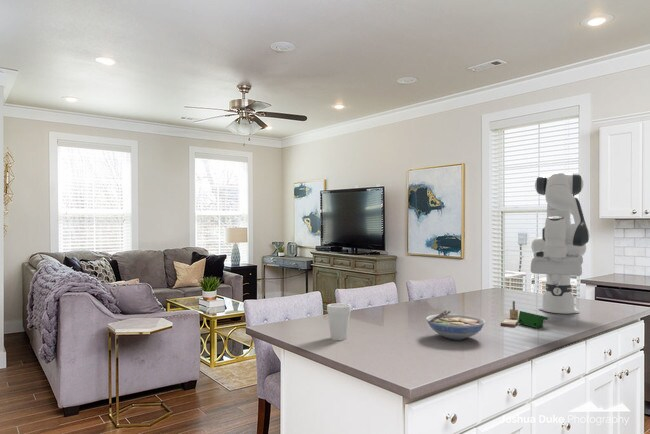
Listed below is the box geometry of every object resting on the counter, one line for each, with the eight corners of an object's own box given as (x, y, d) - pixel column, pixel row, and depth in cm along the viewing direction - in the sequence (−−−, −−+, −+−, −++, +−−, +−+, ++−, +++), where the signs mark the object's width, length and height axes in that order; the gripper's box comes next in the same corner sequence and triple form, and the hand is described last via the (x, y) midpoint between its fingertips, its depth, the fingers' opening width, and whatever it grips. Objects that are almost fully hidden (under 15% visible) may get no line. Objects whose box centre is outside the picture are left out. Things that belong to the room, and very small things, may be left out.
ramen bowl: (476, 349, 167) (476, 326, 167) (416, 340, 179) (416, 319, 179) (492, 335, 188) (491, 315, 188) (437, 328, 200) (437, 309, 200)
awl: (510, 319, 221) (510, 300, 221) (518, 319, 219) (518, 300, 219) (509, 320, 217) (509, 301, 218) (517, 321, 216) (517, 302, 216)
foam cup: (322, 337, 184) (322, 304, 185) (342, 334, 189) (342, 302, 189) (335, 342, 176) (335, 308, 176) (355, 339, 181) (355, 306, 181)
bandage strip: (506, 320, 217) (505, 317, 217) (519, 321, 214) (519, 319, 214) (500, 325, 206) (500, 322, 206) (514, 327, 203) (514, 324, 203)
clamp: (542, 337, 203) (552, 319, 201) (531, 334, 201) (541, 317, 199) (524, 321, 214) (534, 305, 212) (515, 319, 212) (524, 302, 210)
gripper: (583, 253, 199) (583, 285, 199) (532, 252, 210) (532, 282, 210) (582, 254, 194) (582, 287, 194) (529, 252, 205) (529, 284, 205)
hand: (555, 284), depth 202 cm, fingers closed
